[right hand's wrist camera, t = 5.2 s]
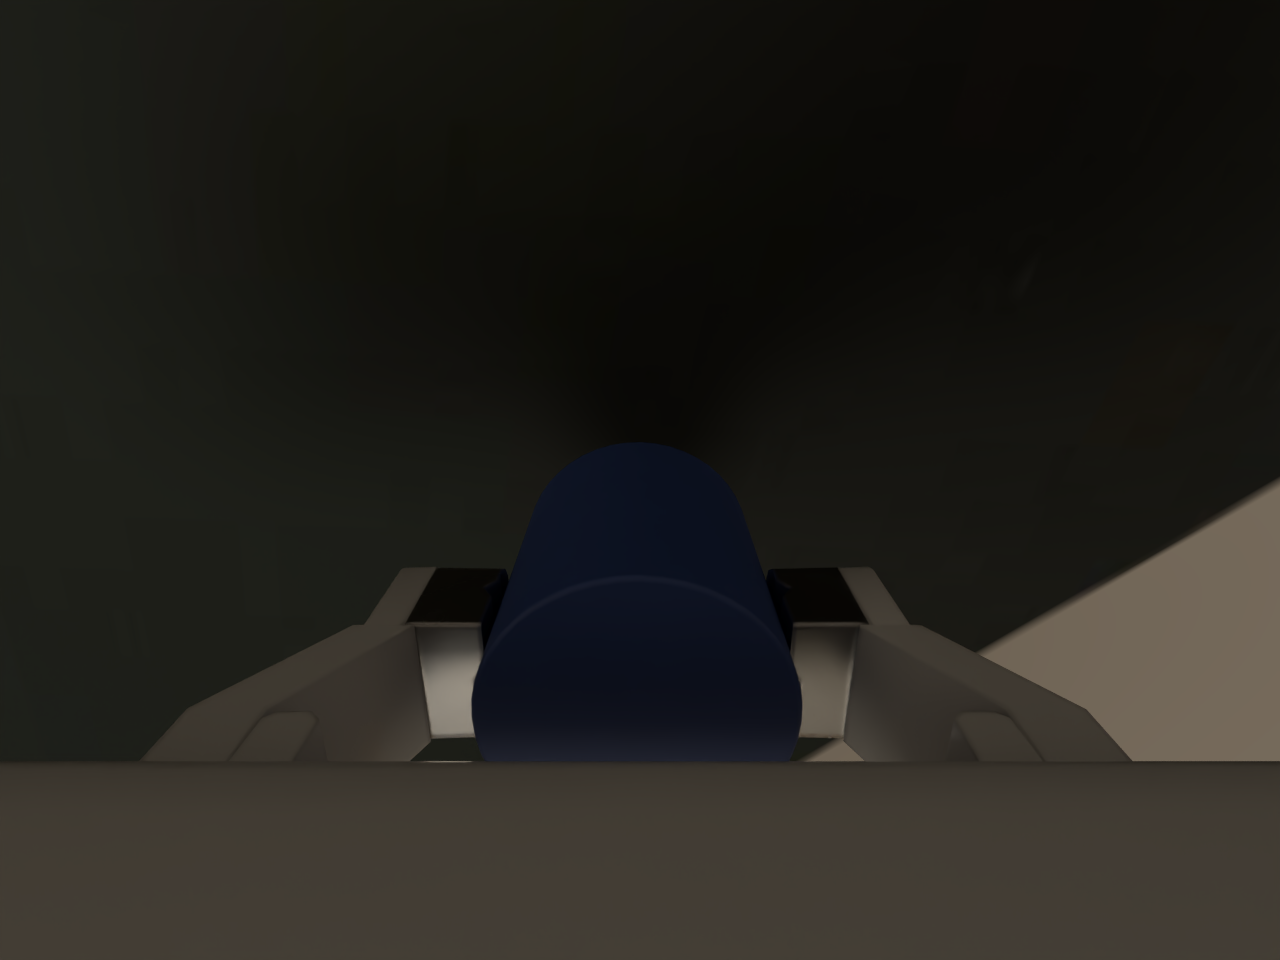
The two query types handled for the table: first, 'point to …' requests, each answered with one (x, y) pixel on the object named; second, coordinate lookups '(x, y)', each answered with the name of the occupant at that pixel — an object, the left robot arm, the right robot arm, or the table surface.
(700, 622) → the can
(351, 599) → the table surface
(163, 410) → the table surface
